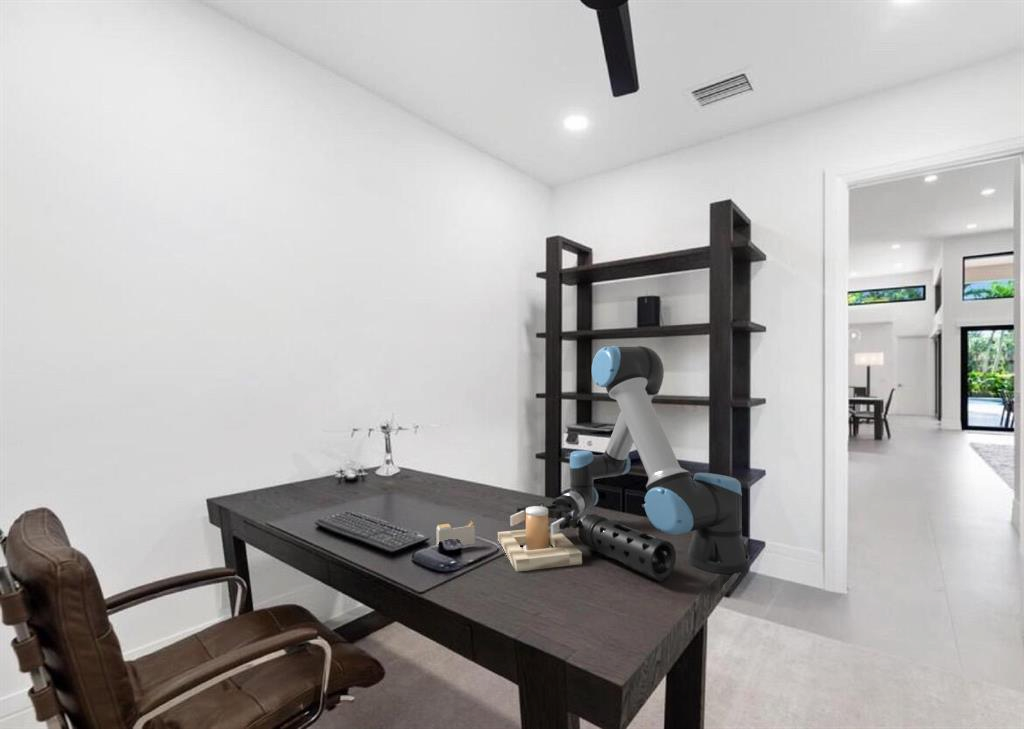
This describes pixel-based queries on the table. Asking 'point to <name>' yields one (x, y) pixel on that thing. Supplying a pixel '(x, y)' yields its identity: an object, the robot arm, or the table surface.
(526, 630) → the table surface
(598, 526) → the muzzle brake
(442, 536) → the model
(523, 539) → the square wooden frame
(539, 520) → the orange white flanged cylinder
